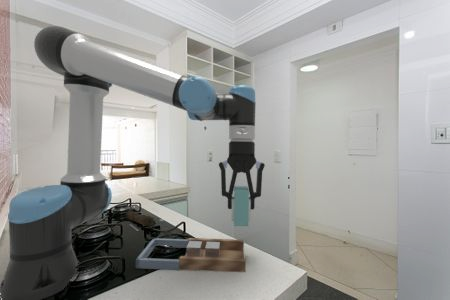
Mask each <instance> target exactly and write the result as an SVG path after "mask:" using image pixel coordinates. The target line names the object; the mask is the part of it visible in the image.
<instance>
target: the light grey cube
mask: <svg viewBox="0 0 450 300" xmlns="http://www.w3.org/2000/svg"><path fill="white" fill-rule="evenodd" d="M219 256H220V242H207V244H206V247H205V257H216V258H219Z"/></svg>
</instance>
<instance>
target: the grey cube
mask: <svg viewBox="0 0 450 300" xmlns="http://www.w3.org/2000/svg"><path fill="white" fill-rule="evenodd" d="M185 249H186V252H185V255H186V256H190V257H201V256H202V241H189V243H188V245H187V248H185Z"/></svg>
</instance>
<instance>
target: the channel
mask: <svg viewBox="0 0 450 300" xmlns="http://www.w3.org/2000/svg"><path fill="white" fill-rule="evenodd" d="M187 240H188V243H189V241H202V256H201V257H190V256H186V254H185V255H183V256H182V255H181V256H179V259H178V260H179V270H180V271H181V270H184V271H206V272H207V271H208V272H210V271H211V272H214V271H215V272H230V273H231V272H232V273H233V272H234V273H235V272H236V273H246V268H247V267H246V266H247V265H246V263H247V260H246V258H245V253H244V252H245V251H244V248H245V247H244V243H245V241H244V239H231V238H230V239H229V238H207V237H206V238H202V237H201V238H199V237H188V238H187ZM207 242H220V256H219V258H216V257H205V247H206V244H207Z"/></svg>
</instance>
